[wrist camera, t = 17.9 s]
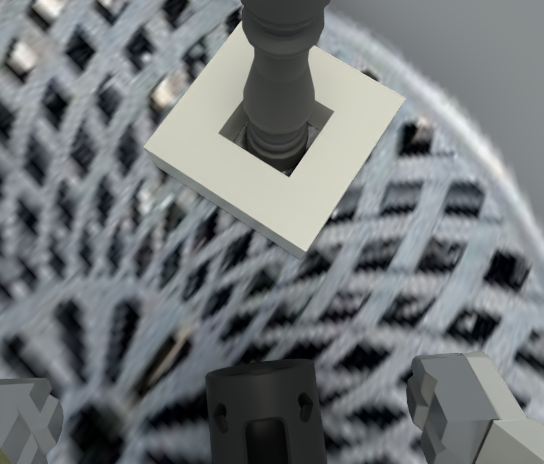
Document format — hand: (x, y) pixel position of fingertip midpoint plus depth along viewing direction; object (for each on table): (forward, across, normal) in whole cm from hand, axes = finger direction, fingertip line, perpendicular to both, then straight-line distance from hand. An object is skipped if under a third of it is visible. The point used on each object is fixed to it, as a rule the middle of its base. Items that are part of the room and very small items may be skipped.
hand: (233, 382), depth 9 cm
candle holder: (+36, -3, +8) cm, 37 cm away
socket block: (+36, -2, +8) cm, 37 cm away
